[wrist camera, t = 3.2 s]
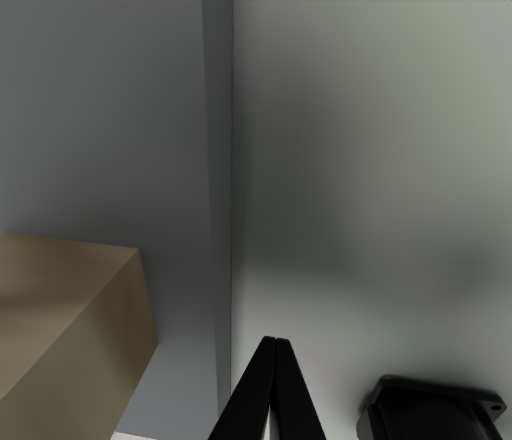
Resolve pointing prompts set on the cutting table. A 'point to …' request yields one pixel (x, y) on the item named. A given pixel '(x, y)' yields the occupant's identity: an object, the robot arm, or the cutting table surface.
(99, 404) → the maple block
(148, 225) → the board
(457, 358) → the cutting table surface
